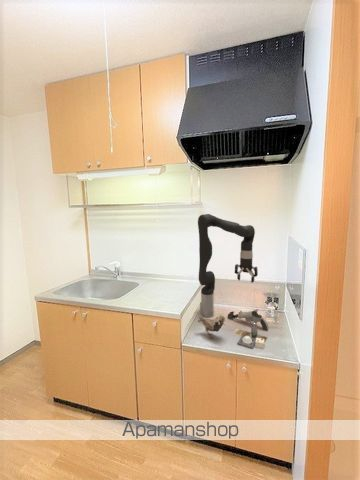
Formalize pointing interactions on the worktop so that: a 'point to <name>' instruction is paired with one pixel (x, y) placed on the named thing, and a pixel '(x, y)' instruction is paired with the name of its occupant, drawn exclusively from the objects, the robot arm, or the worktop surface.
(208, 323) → the stuffed bird
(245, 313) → the gun
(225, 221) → the robot arm
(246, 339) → the dome
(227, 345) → the worktop surface
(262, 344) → the die
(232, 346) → the worktop surface
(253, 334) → the pawn
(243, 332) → the track
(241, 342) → the popper base
